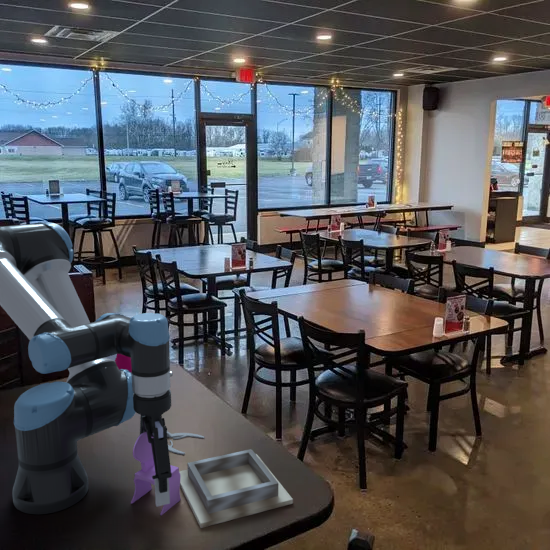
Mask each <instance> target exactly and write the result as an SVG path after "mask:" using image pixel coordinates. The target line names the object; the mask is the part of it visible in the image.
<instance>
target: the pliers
mask: <svg viewBox="0 0 550 550" xmlns="http://www.w3.org/2000/svg"><path fill="white" fill-rule="evenodd" d="M189 437H190V438H196V439H197V438H198V439H202V438H203V439H205V436H203V435H201V434H197V433H191V432H174V433H171V432H170V431H169V430H167V438H172V440H181V439H184V438H189ZM172 440H169V443H170V444H171V445H169V444H168V450H169V453H170V452H171V453H173V454H177V455H183V456H185V455H186V452H185V451H181V450H178V449H176V448H174V447H173V446H174V444H173V443H174V442H173V441H172Z"/></svg>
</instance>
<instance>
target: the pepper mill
mask: <svg viewBox="0 0 550 550" xmlns="http://www.w3.org/2000/svg"><path fill="white" fill-rule="evenodd" d="M114 361H115V362H116V364H117V367H118V369H119V370H120V369H125V370H128V371H129V372H130V373H131V372H132V366H131V358H130V357H127V356H125V355H122V354H116V356H115V359H114Z"/></svg>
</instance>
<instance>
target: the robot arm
mask: <svg viewBox="0 0 550 550" xmlns="http://www.w3.org/2000/svg"><path fill="white" fill-rule="evenodd" d="M73 260H74V249H73V243H72V240H71V238H70V235H69V233H68V232H67V231H66V230H65V229H64V227H63V226H61V225H60V224H57V223H54V222H41V221H39V222H35V223H30V224H29V223H28V224H18V225H17V224H15V225H6V226H5V225H4V226H2V225H1V226H0V307H1V308H2V309H3V311H5V312H6V314H7V315H8V316H9V317H10V318H11V320H12V321H13V322H14V324H16V326H18V328H19V329H20V330H21V332H22V333H23V334H24V336H26V338H27V339H28V340H29V341H28V344H27V345H28V347H27V349H28V352H27V353H28V357H29V360H30V361H31V365H32V368H34V369H35V371H36V372H38V373H40V374H44V375H45V374H46V375H47V374H51V373H55V372H61V371H65V370H68V372H69V374H68V377H67V378H66V382H65V381H61V380H60V381H53V382H49V381H48V382H45V383H40V384H38V385H36V386H33V387H31V388H29V389H28V390H26V391H24V392H22V393H21V394H20V395H19V396H18V398H17V400H15V402H14V407H13V410H14V411H13V414H14V415H13V416H14V417H13V425H14V431H15V438H16V439H15V440H16V449H17V458H18V459H17V461H18V469H17V472H16V476H15V480H14V483H13V487H12V503H13V506H14V507H15V509H17V510H18V511H20V512H22V513H25V514H29V515H47V514H53V513H57V512H60V511H63V510H66V509H68V508H71V507H72V506H74V505H75V504H77V503H78V502H81V500H82V499H83V498H85V496H86V495H87V493H88V491H89V477H88V474H87V471H86V469H85V467H84V464H83V462H82V461H81V459H80V457H79V454H78V441H80V440H82V439H84V438H88V437H89V436H93V435H95V434H98V433H100V432H103V431H106V430H108V429H110V428H113V427H118V426H120V424H123V423H124V422H127V421H129V420H131V419H132V418H133V417H134V416H135V415H136V414H138V415H140V418H139V419H140V424H139V435H140V434H142V433H144V432H147V437H148V442H149V443H151V447H152V453H153V460H154V466H155V473H156V474H155V475H154V476H152V479H154V481H155V485H154V499H155V502H154V503H155V506H156V508H157V507H161V506H162V507H163V505H166V504H170V495H169V478H170V477H172V473H171V467H170V465H171V460H170V451H169V450H168V445H169V441H168V437H167V431H168V427H167V426H166V420H165V418H164V417H163V415H164V413H167V412H168V411H169V410H170V409H171V407H172V390H171V377H173V375H174V373H173V371H171V358H170V357H171V355H170V352H171V351H170V338H171V335H170V332H169V323H168V322H169V321H168V319H167V316H165V315H163V314H162V313H157V312H156V313H152V312H145V313H144V312H143V313H138V314H135V315H133V316H131V317H130V316H129V317H128V316H127V315H124V314H120V313H113V312H107V313H104V314H102V315H101V316H99V317H98V318H97V319H95V321H94V322H93V321H92V322H90V320H89V317H88V315H87V313H86V311H85V308H84V306H83V304H82V302H81V299H80V297H79V296H78V293H77V291H76V289H75V286H74V284H73V281H72V280H71V278H70V275H69V272H70V270H71V268H72V264H71V263H72V262H73ZM117 354H122V355H125V356H127V357H130V358H131V366H132V372H131V373H130V372H129V371H128V370H125V369H120V370H119V369H118V367H117V364H116V362H115V359H112V358H109V357H111V356H115V355H117ZM151 437H154V438H151Z"/></svg>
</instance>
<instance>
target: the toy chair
mask: <svg viewBox="0 0 550 550" xmlns="http://www.w3.org/2000/svg"><path fill="white" fill-rule="evenodd" d="M151 438H154V437H151ZM132 457H133V458H134V460H136V461H138V462H140V466H141V469H139V470H138V471H137V472H135V473H134V478H133V483H134V492H133V496H132V498H131V500H130V504H134V503H136V501H138V500H139V499H140V498H141V497H143V496H145V495H146V494H148V492H150V491H151V490H152V485H153V486H155V481H154V479H152V476H154V475H155V474H156V473H155V466H154V460H153V453H152V447H151V443H149V442H148V437H147V432H144V433H142V434H140V433H139V435H138V437H137V439H136V440H135V443H134V446H133V447H132ZM170 467H171V473H172V477H170V478H169V495H170V504H166V505H162V508H161V511H160V514H159V515H160V516H163V515H164V514H165V513H166V512H168V511H169V510H170V509H171V508H173V507H174V506H175V505H176V504H177V503H179V502H180V501H181V493H180V492H181V491H180V489H181V487H180V477H181V476H180V472H179V471H180V468H179V467H178V466H175V465H171V464H170Z"/></svg>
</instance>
